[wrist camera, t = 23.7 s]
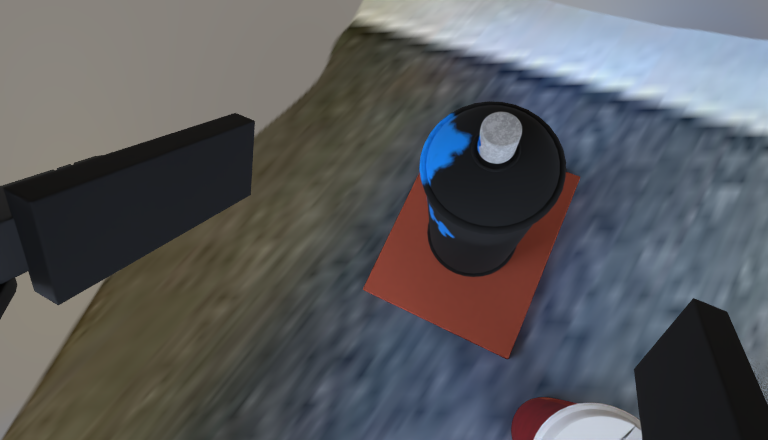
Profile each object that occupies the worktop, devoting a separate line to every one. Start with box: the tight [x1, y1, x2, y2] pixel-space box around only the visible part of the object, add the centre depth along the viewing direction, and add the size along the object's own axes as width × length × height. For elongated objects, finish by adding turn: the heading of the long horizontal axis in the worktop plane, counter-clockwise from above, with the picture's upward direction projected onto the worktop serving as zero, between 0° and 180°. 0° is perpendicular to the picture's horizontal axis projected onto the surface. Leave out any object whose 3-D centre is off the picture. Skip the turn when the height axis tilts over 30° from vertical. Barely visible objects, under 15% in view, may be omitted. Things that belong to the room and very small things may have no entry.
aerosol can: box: [420, 102, 566, 277], centre depth 30 cm, size 8×8×20 cm
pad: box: [363, 172, 580, 359], centre depth 40 cm, size 14×18×1 cm
